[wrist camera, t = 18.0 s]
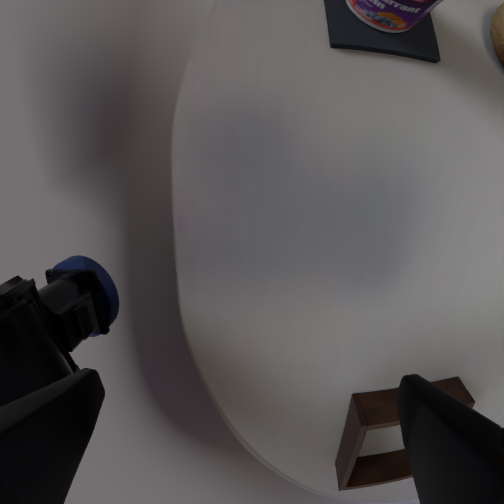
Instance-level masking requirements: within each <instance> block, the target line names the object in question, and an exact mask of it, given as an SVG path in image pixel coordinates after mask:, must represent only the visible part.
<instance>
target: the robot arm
mask: <svg viewBox="0 0 504 504" xmlns="http://www.w3.org/2000/svg"><path fill="white" fill-rule="evenodd" d="M49 273H50V274H49ZM45 274H46V279H47V283H48V285H46V286H44V287H43V288H41V289H40V290H38V291H37V288H36V286H35V281H34V279H31V280H28V281H27V280H26V279H25V280H23V279H22V278H21V277H19V276H16V277H14V278H12V279H10V280H8V281H7V282H5V283H3V284H1V285H0V504H64V502H65V499H66V496H67V494H68V491H69V488H70V486H71V484H72V481H73V478H74V476H75V474H76V471H77V469H78V466H79V464H80V462H81V459H82V457H83V455H84V452H85V450H86V448H87V445H88V443H89V441H90V438H91V436H92V433H93V430H94V428H95V424H96V421H97V418H98V415H99V412H100V409H101V406H102V403H103V400H104V397H105V390H104V387H103V384H102V382H101V379H100V376H99V374H98V372H97V371H96V370H94V369H89V368H84V369H81V370H80V368H79V367H78V365H76V364H75V362H74V360H73V359H72V357H71V355H70V354H69V352H72V351H73V350H74V349H75V348H76V347H77V346H78V345H79V344H80V343H81V342H82V341H83V340H86V339H87V338H88V337H89V336H90V335H91V334H92V333H95V334H103V335H106V334H108V333H109V331H110V328H109V324H108V321H107V315H106V311H105V307H104V303H103V298H102V294H101V291H100V286H99V281H98V277H97V273H96V271H95V270H93V269H48V270H47V271H46V273H45ZM91 274H92V275H93V277H92V276H91ZM103 328H104V329H105V330H104V329H103ZM396 406H397V411H398V416H399V421H400V427H401V432H402V438H403V443H404V447H405V451H406V454H407V458H408V461H409V464H410V468H411V471H412V475H413V478H414V482H415V486H416V489H417V493H418V497H419V501H420V504H504V428H501V426H499V425H498V424H496V423H494V422H493V421H491V420H490V419H488V418H486V417H485V416H483V415H481V414H480V413H478V412H477V411H475V410H473V409H472V408H470V407H469V406H467V405H465V404H464V403H462V402H461V401H459V400H457V399H456V398H454V397H453V396H451V395H449V394H448V393H446V392H445V391H443V390H441V389H440V388H438V387H437V386H435V385H433V384H432V383H430V382H429V381H427V380H425V379H424V378H422V377H421V376H419V375H417V374H411V375H405V376H403V377H402V379H401V382H400V386H399V389H398V392H397V395H396Z"/></svg>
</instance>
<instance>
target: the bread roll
mask: <svg viewBox="0 0 504 504" xmlns="http://www.w3.org/2000/svg"><path fill="white" fill-rule="evenodd" d="M490 26H491V29H490V30H491V40H492V44H493V46H494V50H495V51H496V53H497V55H498V57H499V58H500V60H501V61H502V62H503V63H504V3H503V4H502V5H501V6H500V7H499V8H498V9H497V10H496V12H495V13H494V14H493V16H492V19H491V24H490Z"/></svg>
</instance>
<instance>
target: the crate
mask: <svg viewBox="0 0 504 504" xmlns="http://www.w3.org/2000/svg"><path fill="white" fill-rule="evenodd" d="M431 383H432V384H433V385H435V386H437V387H438V388H440V389H441V390H443V391H445V392H446V393H448V394H449V395H451V396H453V397H454V398H456V399H457V400H459V401H461V402H462V403H464V404H465V405H467V406H469V407H470V408H473V406H474V404H475V400H474V399H473V397H472V396H471V395H470V393H469V392H468V390H467V389H466V387H465V386H464V384H463V383H462V382H461V380H460V379H459V377H454V378H450V379H445V380H441V381H436V382H431ZM398 389H399V388H397V389H390V390H383V391H375V392H367V393H359V394H352V397H351V402H350V407H349V411H348V415H347V420H346V424H345V428H344V432H343V436H342V440H341V444H340V447H339V451H338V454H337V458H336V462H335V466H336V473H337V480H338V488H339V491H341V490H349V489H356V488H363V487H369V486H375V485H380V484H385V483H390V482H394V481H399V480H403V479H407V478H411V477H413V475H412V471H411V468H410V464H409V461H408V458H407V454H406V451H405V449H404V450H400V451H395V452H390V453H384V454H379V455H373V456H366V457H359V458H357V457H358V454H359V451H360V448H361V446H362V443H363V440H364V437H365V434H366V431H367V430H371V429H378V428H384V427H390V426H396V425H400V421H399V416H398V411H397V406H396V395H397V392H398Z"/></svg>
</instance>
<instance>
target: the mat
mask: <svg viewBox="0 0 504 504" xmlns="http://www.w3.org/2000/svg"><path fill="white" fill-rule="evenodd" d="M324 3H325V10H326V17H327V24H328V31H329V39H330V47H332V48H345V49H356V50H365V51H373V52H380V53H387V54H393V55H399V56H404V57H410V58H415V59H419V60H424V61H428V62H433V63H437V62H439V61H440V55H439V50H438V45H437V40H436V35H435V31H434V27H433V23H432V19H431V15H430V12H429V13H428V14H427V15H425V16H424V17H423V18H422V19H421V20H420V21H419V22H417V23H416V24H415V25H414V26H413V27H411V28H410V29H409V30H406V31H404V32H399V33H390V32H385V31H381V30H378V29H376V28H373V27H371V26H369V25H368V24H366V23H364V22H363V21H362V20H360V19H359V18H358V17H357V16H356V15H355V14H354V13H353V12H352V11H351V9H350V8H349V6H348V5H347V2H346V0H324Z"/></svg>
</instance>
